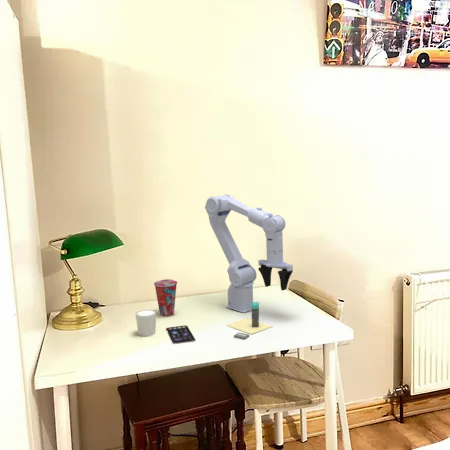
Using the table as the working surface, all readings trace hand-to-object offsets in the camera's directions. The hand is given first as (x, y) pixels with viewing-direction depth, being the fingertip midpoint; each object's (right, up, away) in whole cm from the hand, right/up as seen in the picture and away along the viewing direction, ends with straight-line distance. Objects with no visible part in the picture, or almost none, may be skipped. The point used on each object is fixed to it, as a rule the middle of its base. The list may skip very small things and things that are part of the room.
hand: (275, 287), depth 180 cm
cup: (-40, -11, +7) cm, 42 cm away
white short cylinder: (-44, -14, -12) cm, 48 cm away
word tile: (-13, -14, -17) cm, 25 cm away
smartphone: (-33, -14, -14) cm, 38 cm away
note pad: (-10, -12, -8) cm, 18 cm away
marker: (-8, -12, -9) cm, 17 cm away
